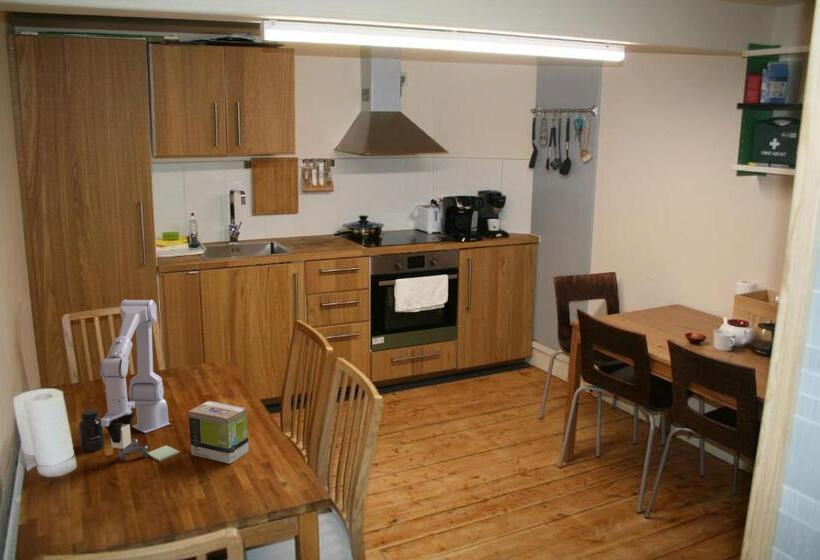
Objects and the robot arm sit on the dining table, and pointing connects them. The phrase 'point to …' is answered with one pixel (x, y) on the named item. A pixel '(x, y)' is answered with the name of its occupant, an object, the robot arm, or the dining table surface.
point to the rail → (133, 450)
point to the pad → (163, 453)
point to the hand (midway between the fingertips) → (120, 438)
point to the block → (123, 437)
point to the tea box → (218, 431)
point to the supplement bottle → (90, 431)
